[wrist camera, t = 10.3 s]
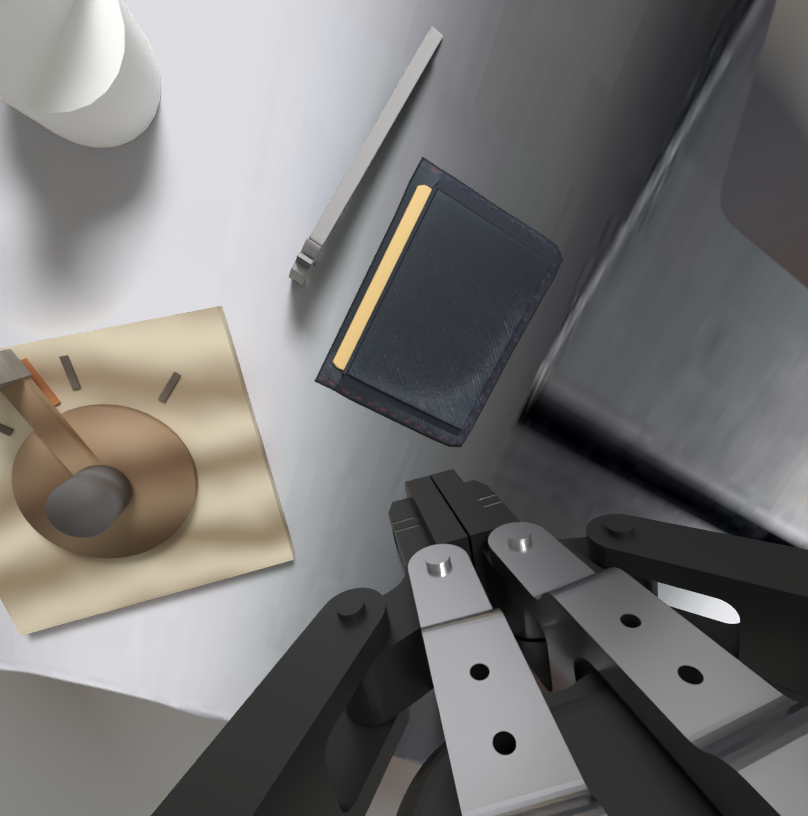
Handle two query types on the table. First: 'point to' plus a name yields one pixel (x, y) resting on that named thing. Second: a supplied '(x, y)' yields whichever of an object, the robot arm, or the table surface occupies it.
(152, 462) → the dial
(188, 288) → the table surface
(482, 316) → the dark grey flat block
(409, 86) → the caliper
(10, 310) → the table surface
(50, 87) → the cylinder with rectangular tab
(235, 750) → the robot arm
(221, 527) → the dial board
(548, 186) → the table surface
